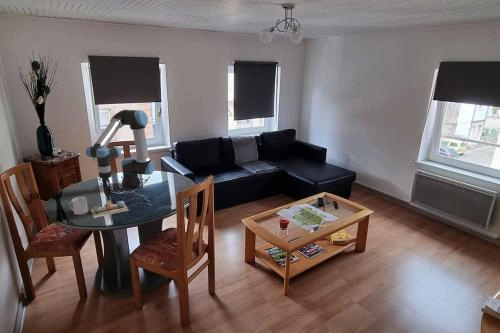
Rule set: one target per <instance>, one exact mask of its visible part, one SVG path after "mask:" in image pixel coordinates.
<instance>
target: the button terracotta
mask: <svg viewBox="0 0 500 333" xmlns="http://www.w3.org/2000/svg"><path fill="white" fill-rule="evenodd" d="M113 205H114V203H112V202H111V204H109V205H107V204H104V207H106V209H107V210H108V211H111V210H112V208H113Z"/></svg>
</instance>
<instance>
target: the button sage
mask: <svg viewBox="0 0 500 333" xmlns="http://www.w3.org/2000/svg"><path fill="white" fill-rule="evenodd" d="M101 207H102V205H100V204H99V205H95V206H93V207H92V209H93V210H94V212H95V213H96V214H97V213H101V212H100V211H101Z"/></svg>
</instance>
